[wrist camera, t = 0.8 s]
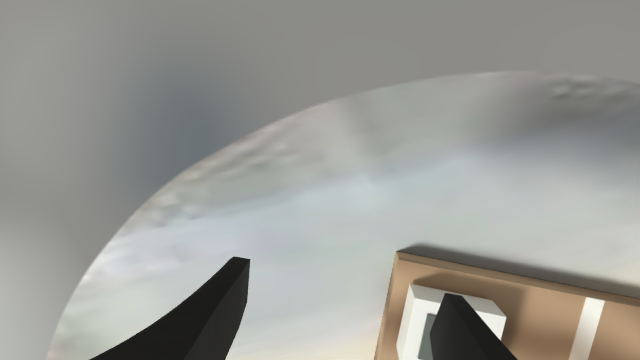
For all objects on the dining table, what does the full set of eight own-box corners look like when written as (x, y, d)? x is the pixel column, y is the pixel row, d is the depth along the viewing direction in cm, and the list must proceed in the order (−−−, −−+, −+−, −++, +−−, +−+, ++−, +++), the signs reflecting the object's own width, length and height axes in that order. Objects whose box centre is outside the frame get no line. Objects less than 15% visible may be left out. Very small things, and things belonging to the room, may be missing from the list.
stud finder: (476, 362, 26) (490, 387, 23) (396, 345, 26) (400, 367, 24) (492, 300, 25) (507, 318, 22) (409, 283, 26) (415, 299, 23)
